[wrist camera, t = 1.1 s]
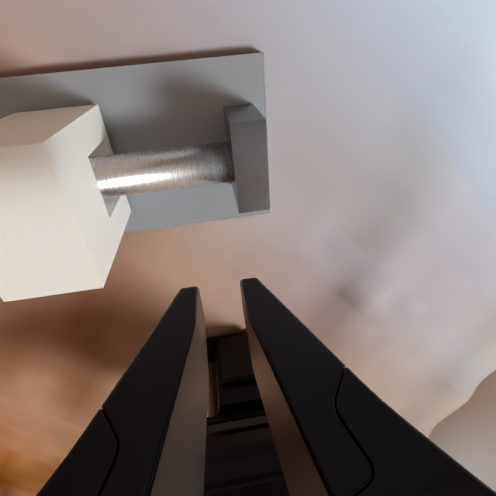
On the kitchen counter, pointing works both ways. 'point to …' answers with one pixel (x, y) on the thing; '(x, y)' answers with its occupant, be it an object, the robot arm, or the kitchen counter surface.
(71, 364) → the kitchen counter surface
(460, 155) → the kitchen counter surface
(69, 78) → the base board
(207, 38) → the kitchen counter surface
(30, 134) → the collar
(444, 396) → the kitchen counter surface
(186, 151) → the rail
